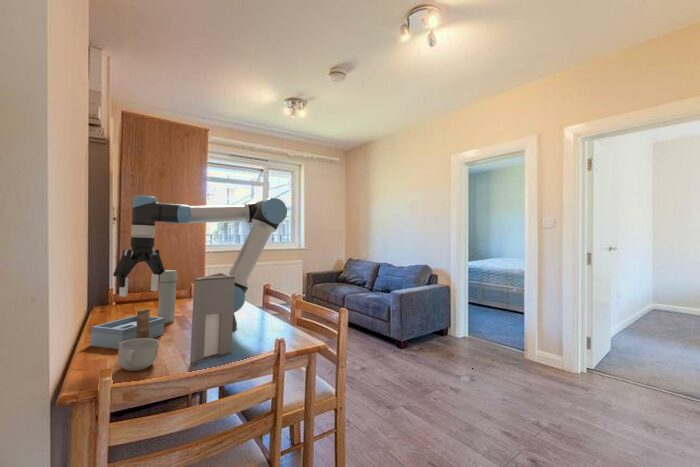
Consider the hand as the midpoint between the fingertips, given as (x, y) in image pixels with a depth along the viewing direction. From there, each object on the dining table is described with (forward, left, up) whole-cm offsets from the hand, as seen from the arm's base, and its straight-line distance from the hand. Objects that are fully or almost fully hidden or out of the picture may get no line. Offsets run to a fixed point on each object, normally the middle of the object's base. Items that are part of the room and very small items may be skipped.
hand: (139, 293), depth 120 cm
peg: (-3, +1, -20) cm, 20 cm away
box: (+10, -7, -20) cm, 24 cm away
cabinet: (-32, -2, -20) cm, 38 cm away
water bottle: (+17, -35, -20) cm, 44 cm away
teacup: (-16, +17, -20) cm, 31 cm away
